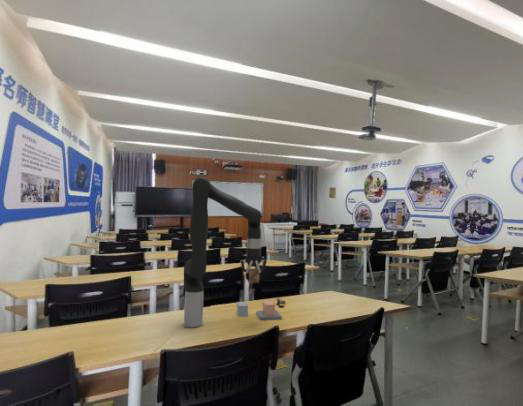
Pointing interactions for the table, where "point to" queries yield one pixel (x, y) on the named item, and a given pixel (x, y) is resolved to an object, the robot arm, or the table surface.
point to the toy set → (280, 302)
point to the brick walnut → (253, 276)
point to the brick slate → (242, 309)
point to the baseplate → (262, 317)
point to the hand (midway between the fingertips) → (252, 279)
